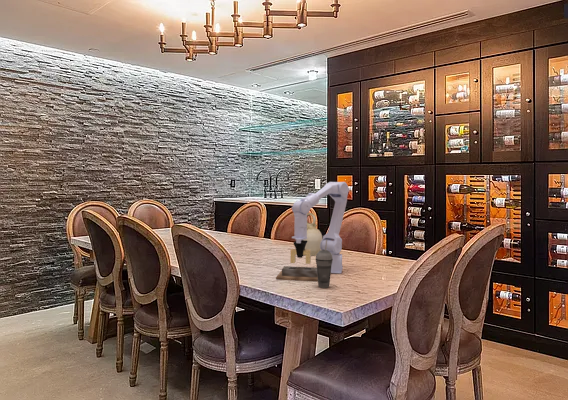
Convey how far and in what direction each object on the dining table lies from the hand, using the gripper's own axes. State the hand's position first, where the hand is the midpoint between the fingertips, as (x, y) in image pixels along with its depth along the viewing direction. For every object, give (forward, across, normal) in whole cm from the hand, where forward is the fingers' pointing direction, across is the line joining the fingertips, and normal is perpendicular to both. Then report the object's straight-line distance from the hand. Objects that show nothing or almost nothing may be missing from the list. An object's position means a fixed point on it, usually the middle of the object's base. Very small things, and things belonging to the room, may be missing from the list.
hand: (300, 256), depth 196 cm
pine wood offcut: (+3, 0, 0) cm, 3 cm away
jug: (+10, -64, -3) cm, 65 cm away
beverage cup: (+10, +16, +12) cm, 22 cm away
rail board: (+9, 0, 0) cm, 9 cm away
